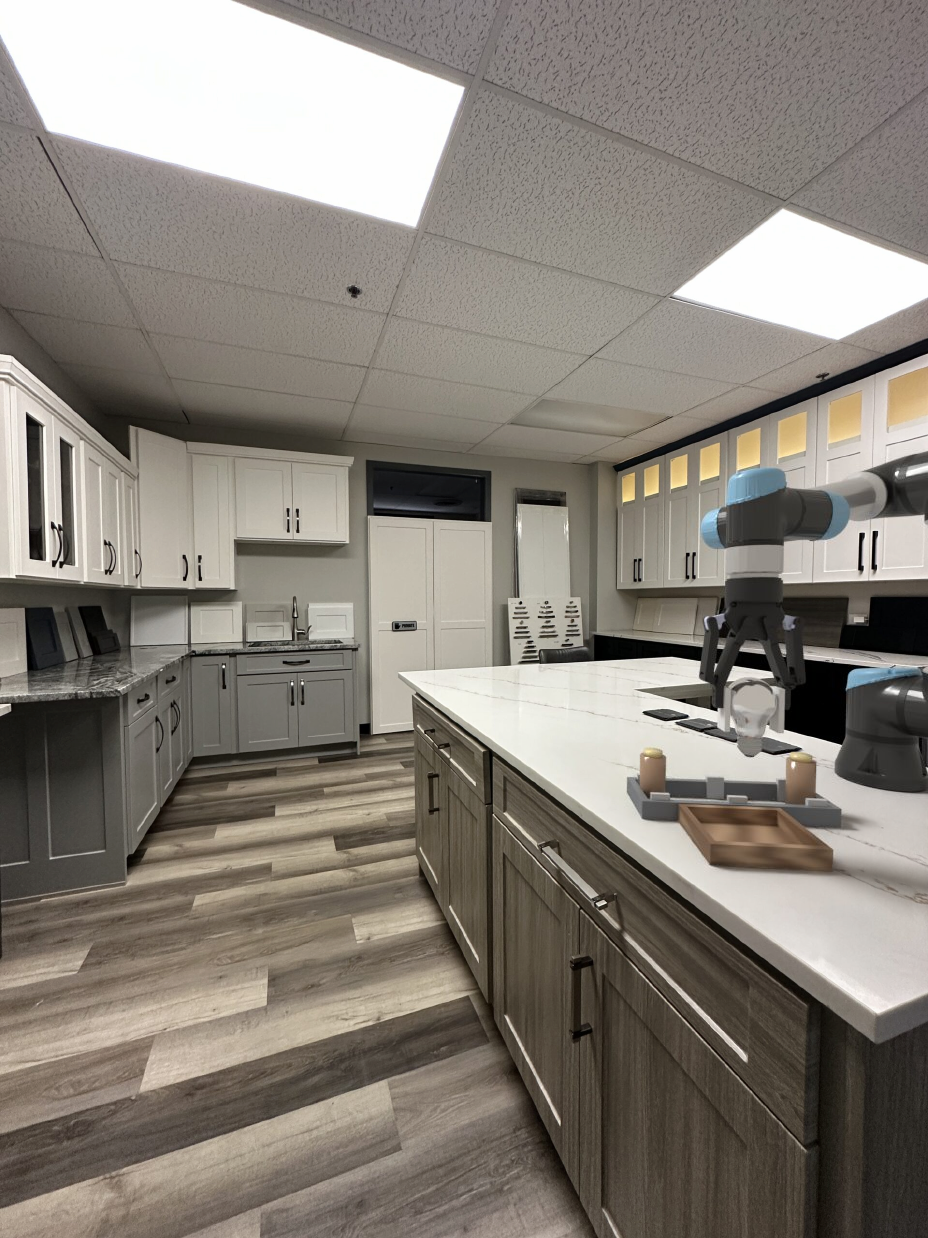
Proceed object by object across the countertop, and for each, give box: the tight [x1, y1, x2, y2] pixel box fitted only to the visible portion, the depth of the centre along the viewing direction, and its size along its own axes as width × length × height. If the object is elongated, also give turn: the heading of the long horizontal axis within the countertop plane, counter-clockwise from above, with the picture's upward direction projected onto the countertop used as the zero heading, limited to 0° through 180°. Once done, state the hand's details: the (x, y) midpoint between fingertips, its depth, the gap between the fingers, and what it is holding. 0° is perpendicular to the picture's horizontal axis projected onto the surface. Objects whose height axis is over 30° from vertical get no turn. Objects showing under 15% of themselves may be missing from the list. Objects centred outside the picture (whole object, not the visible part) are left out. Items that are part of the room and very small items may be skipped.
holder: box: [626, 772, 843, 828], centre depth 90 cm, size 31×12×4 cm, turn 84°
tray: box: [677, 804, 834, 872], centre depth 77 cm, size 16×14×3 cm
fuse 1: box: [639, 747, 667, 799], centre depth 91 cm, size 4×4×10 cm
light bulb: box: [728, 676, 777, 758], centre depth 76 cm, size 7×7×12 cm
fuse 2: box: [784, 751, 817, 805], centre depth 89 cm, size 4×4×10 cm
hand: (749, 730), depth 76 cm, fingers closed on light bulb, 7 cm apart
